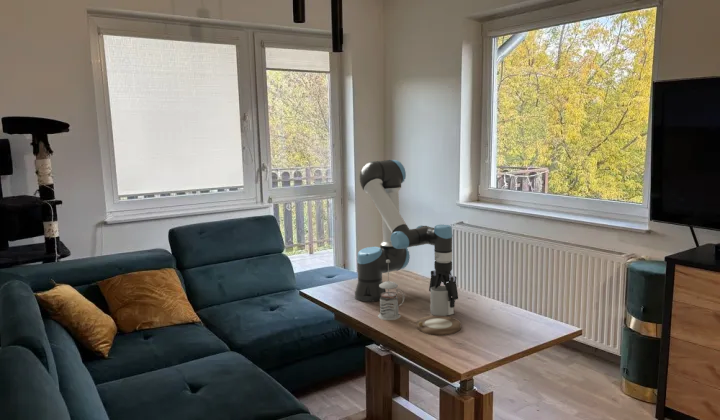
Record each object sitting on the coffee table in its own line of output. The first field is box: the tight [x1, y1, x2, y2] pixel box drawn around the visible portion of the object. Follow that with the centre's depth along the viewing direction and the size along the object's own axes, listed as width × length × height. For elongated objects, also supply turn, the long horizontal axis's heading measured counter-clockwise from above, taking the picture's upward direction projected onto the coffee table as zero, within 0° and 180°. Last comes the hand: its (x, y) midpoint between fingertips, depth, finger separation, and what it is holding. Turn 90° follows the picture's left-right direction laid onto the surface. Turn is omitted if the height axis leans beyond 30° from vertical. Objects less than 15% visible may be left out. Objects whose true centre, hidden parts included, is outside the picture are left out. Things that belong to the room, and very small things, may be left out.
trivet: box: [415, 315, 462, 336], centre depth 212 cm, size 18×18×3 cm
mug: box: [430, 285, 456, 317], centre depth 227 cm, size 12×8×11 cm
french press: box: [377, 260, 405, 321], centre depth 223 cm, size 10×12×25 cm
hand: (443, 311), depth 228 cm, fingers closed on mug, 8 cm apart
